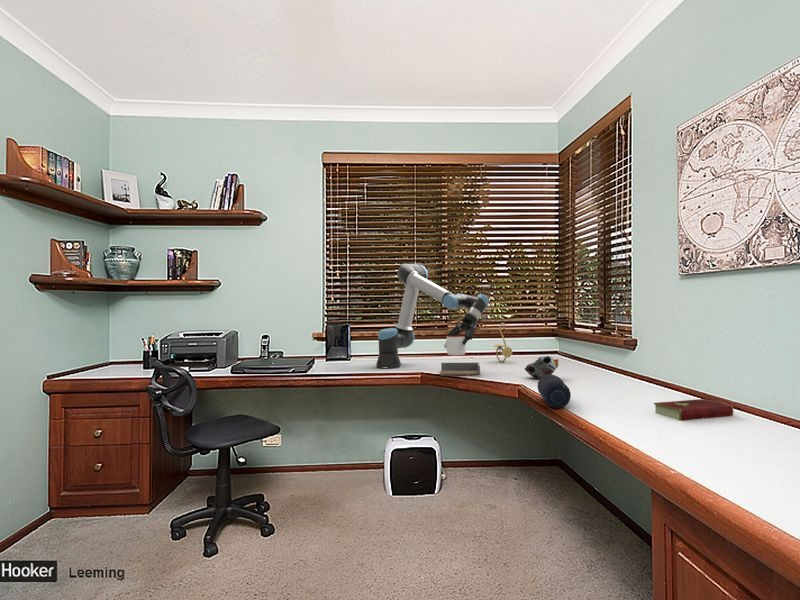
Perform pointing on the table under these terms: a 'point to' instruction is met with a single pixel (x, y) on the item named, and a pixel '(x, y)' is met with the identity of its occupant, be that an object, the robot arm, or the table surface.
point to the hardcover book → (693, 409)
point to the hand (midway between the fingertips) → (452, 347)
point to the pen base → (458, 372)
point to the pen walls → (460, 366)
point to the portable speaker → (554, 391)
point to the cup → (455, 346)
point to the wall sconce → (507, 350)
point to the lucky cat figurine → (542, 367)
